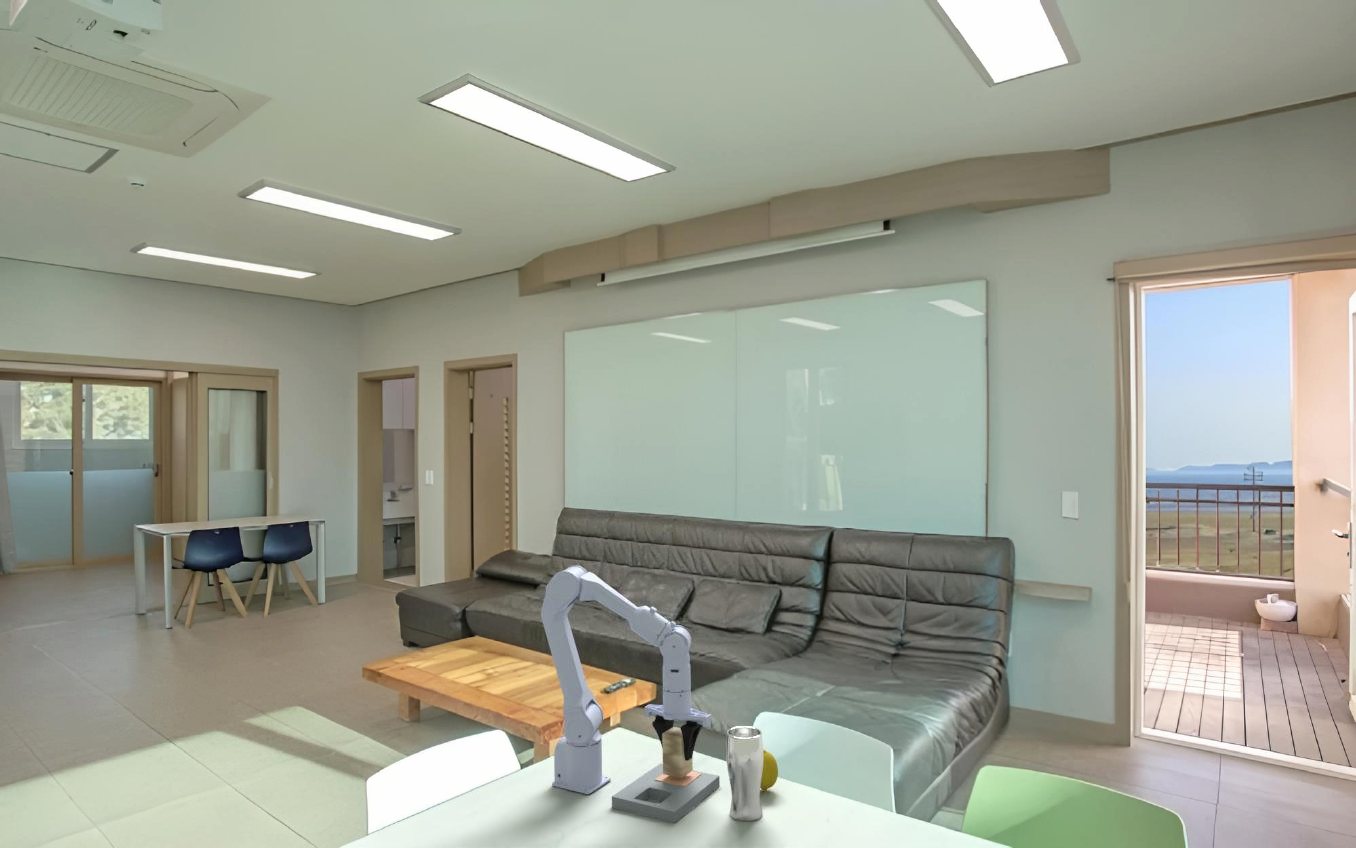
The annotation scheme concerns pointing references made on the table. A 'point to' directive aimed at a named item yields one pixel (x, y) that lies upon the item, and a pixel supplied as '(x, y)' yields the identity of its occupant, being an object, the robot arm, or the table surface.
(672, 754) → the peg
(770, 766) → the lemon
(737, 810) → the beer glass
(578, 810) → the table surface
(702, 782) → the pocket board
